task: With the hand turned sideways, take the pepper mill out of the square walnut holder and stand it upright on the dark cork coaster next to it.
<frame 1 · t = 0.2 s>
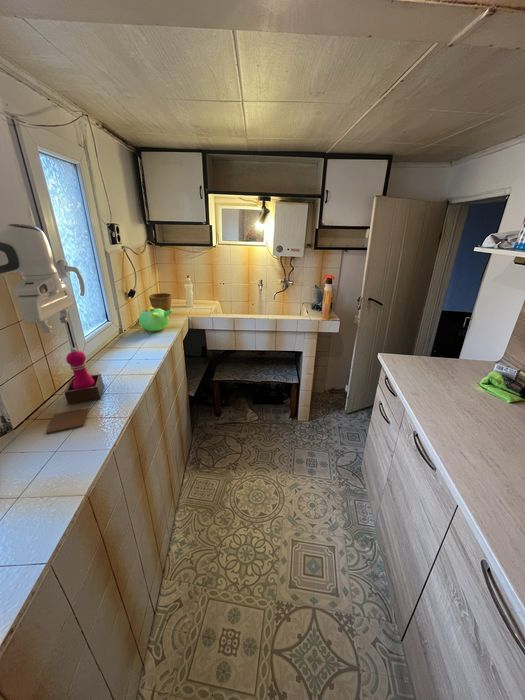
hand: (57, 327, 90), 31 cm above the counter, tool pointing down, fingers open, 8 cm apart
mill holder: (87, 394, 110), on the counter
toy bird: (156, 330, 176), on the counter
pepper mill: (87, 395, 110), resting in mill holder
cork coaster: (68, 420, 95), on the counter
plant pot: (163, 317, 199), on the counter
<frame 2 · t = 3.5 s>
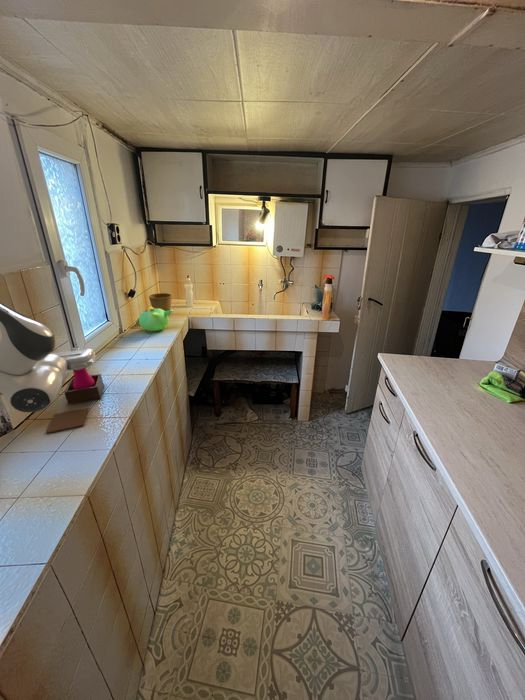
hand: (61, 351, 90), 24 cm above the counter, tool horizontal, fingers open, 8 cm apart
nothing on the counter moved.
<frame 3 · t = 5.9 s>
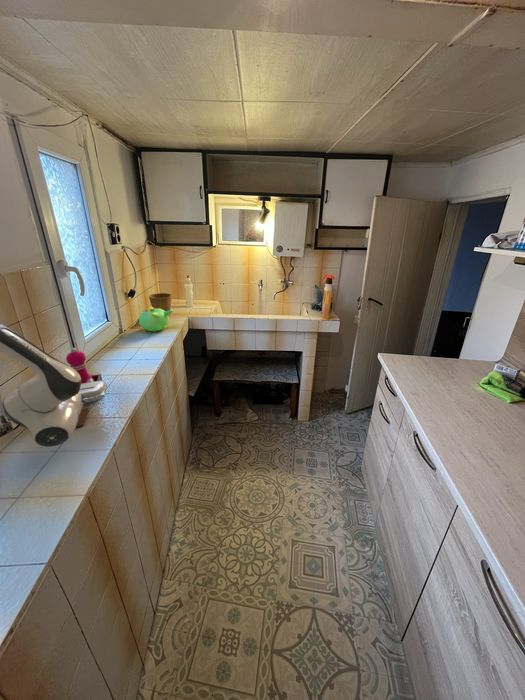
hand: (75, 382, 98), 10 cm above the counter, tool horizontal, fingers open, 8 cm apart
nothing on the counter moved.
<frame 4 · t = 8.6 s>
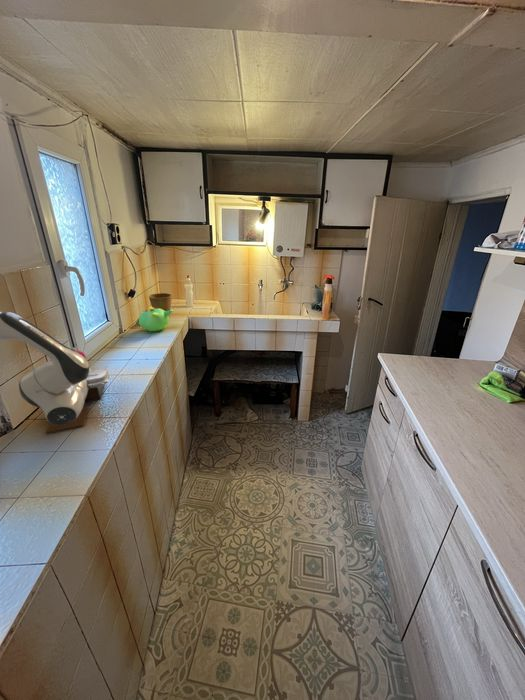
hand: (80, 371, 106), 10 cm above the counter, tool horizontal, fingers closed on pepper mill, 4 cm apart
pepper mill: (87, 395, 110), resting in mill holder, touching gripper
everything else where it was.
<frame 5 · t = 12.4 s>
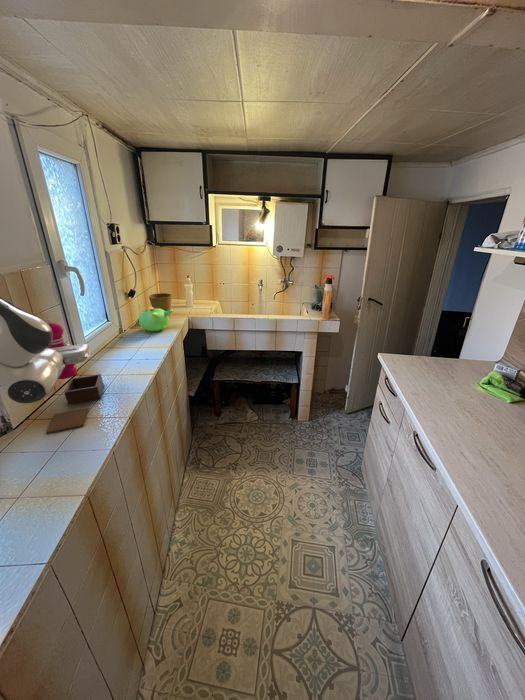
hand: (58, 347, 92), 24 cm above the counter, tool horizontal, fingers closed on pepper mill, 4 cm apart
pepper mill: (67, 375, 96), point 14 cm above the counter, touching gripper
everything else where it was.
when the fingers open (11 cm above the counter, at t = 16.5 s): pepper mill stays where it is, resting on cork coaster.
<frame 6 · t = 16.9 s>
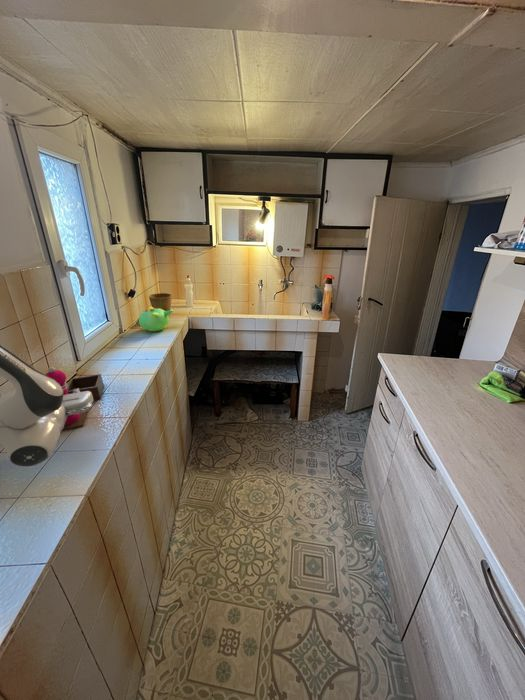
hand: (60, 393, 92), 10 cm above the counter, tool horizontal, fingers open, 8 cm apart
pepper mill: (69, 419, 95), resting on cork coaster
everything else where it was.
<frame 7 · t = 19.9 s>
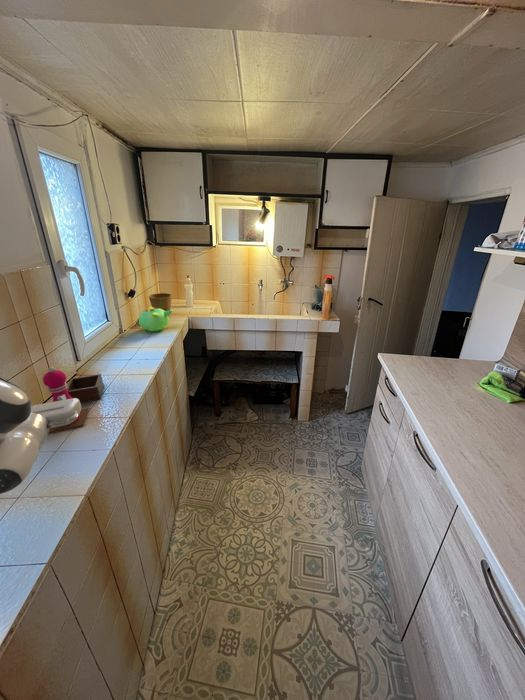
hand: (43, 400, 79), 16 cm above the counter, tool horizontal, fingers open, 8 cm apart
nothing on the counter moved.
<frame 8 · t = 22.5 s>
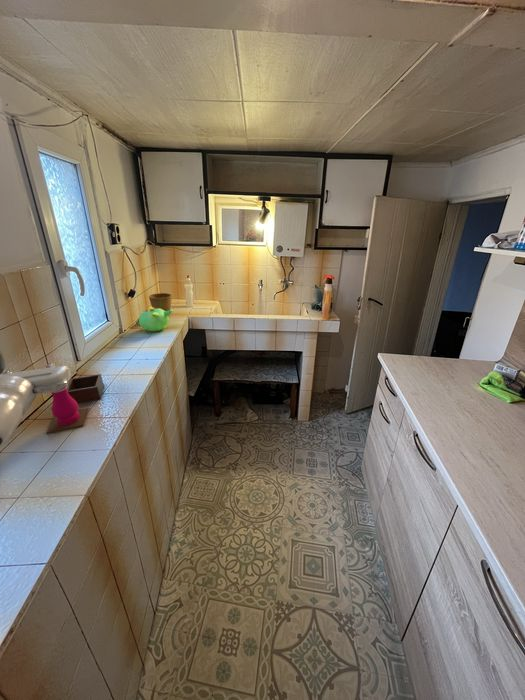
hand: (30, 368, 74), 26 cm above the counter, tool horizontal, fingers open, 8 cm apart
nothing on the counter moved.
at the end: pepper mill inside the target area (0.3 cm from its centre), resting on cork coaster; pepper mill tilted 0°; pepper mill touching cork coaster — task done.
